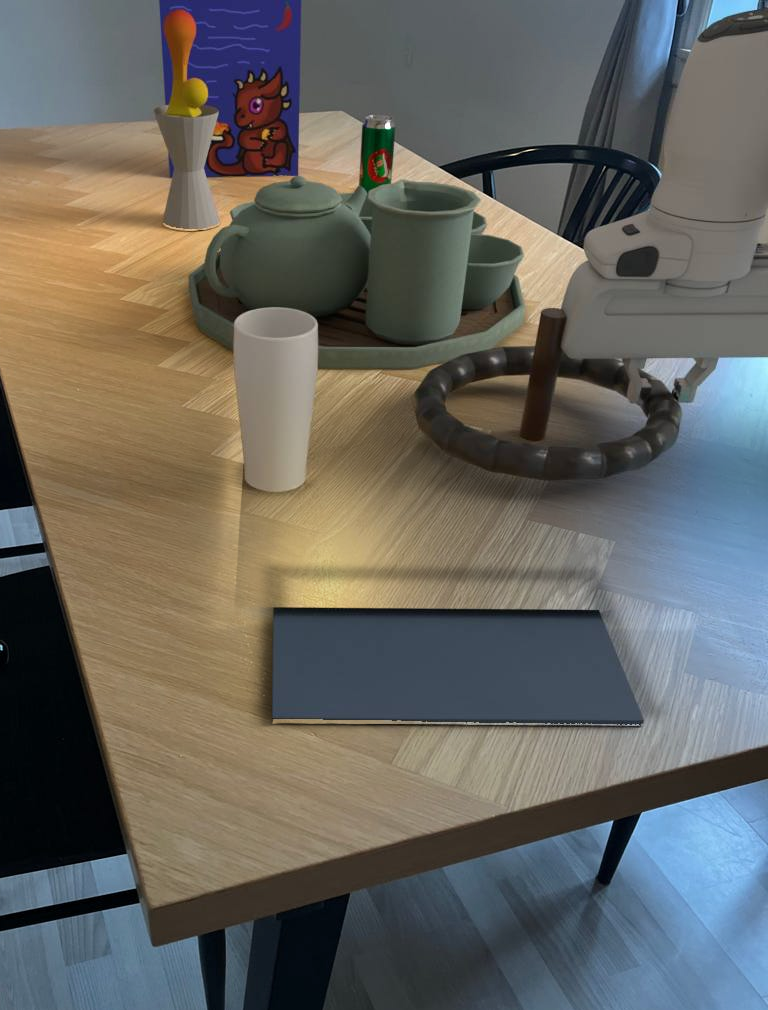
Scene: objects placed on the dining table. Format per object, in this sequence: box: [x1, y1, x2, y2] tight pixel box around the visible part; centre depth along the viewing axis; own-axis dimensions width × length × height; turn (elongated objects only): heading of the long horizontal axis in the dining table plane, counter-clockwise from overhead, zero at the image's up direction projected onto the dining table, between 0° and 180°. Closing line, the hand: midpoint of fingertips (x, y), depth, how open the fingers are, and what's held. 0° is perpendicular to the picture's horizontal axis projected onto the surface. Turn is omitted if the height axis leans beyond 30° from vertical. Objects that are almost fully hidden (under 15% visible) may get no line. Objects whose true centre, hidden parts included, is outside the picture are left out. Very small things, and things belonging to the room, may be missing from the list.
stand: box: [518, 307, 567, 443], centre depth 88 cm, size 8×8×13 cm
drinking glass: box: [232, 307, 319, 493], centre depth 81 cm, size 7×7×15 cm
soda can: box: [358, 114, 396, 193], centre depth 151 cm, size 5×5×12 cm
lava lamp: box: [153, 9, 221, 229], centre depth 134 cm, size 9×9×35 cm
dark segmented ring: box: [411, 345, 683, 482], centre depth 89 cm, size 24×24×3 cm
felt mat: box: [271, 606, 645, 725], centre depth 69 cm, size 24×15×1 cm, turn 90°
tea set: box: [187, 175, 526, 371], centre depth 113 cm, size 40×40×16 cm
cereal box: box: [158, 0, 302, 179], centre depth 158 cm, size 22×6×30 cm, turn 96°
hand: (658, 400), depth 89 cm, fingers closed on dark segmented ring, 3 cm apart
